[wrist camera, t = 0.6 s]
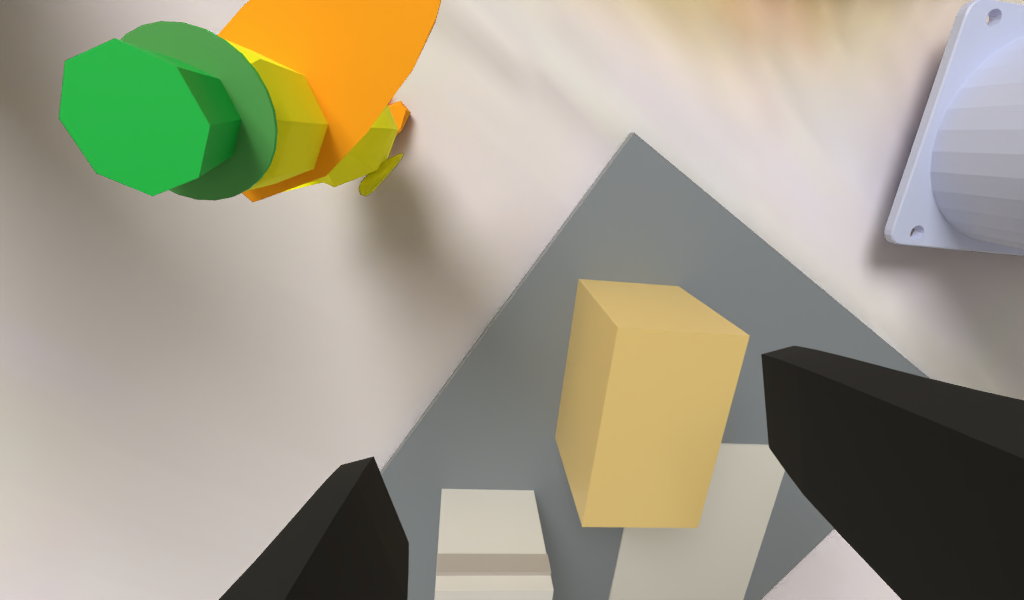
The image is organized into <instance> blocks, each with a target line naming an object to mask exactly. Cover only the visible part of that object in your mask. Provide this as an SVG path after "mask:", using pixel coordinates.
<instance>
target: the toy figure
mask: <svg viewBox="0 0 1024 600" xmlns="http://www.w3.org/2000/svg"><path fill="white" fill-rule="evenodd" d="M440 3H441V0H250V1H249V2H247V3H246V4H245V5H244V6H243V7H242V8H241V9H240V10H239V11H238V13H237V14H236V15H235V16H234V17H233V18H232V19H231V21H230V22H229V23H228V24H227V25H226V26H225V27H224V29H223V30H222V31H221V32H220V33H219V34H218V35H216V34H214V33H212V32H210V31H208V30H206V29H204V28H200V27H197V26H193V25H190V24H187V23H182V22H165V21H160V22H155V23H151V24H146V25H142V26H140V27H138V28H136V29H134V30H133V31H131V32H129V33H127V34H126V35H125V36H124V37H123V38H122V39H121V40H118V39H115V38H114V39H112V40H110V41H108V42H106V43H103V44H101V45H99V46H97V47H95V48H92V49H90V50H88V51H86V52H84V53H81V54H79V55H77V56H75V57H73V58H70V59H68V60H66V61H65V65H64V75H63V84H62V94H61V103H60V113H59V119H60V121H61V122H62V124H63V125H64V127H65V128H66V129H67V131H68V132H69V134H70V135H71V137H72V138H73V140H74V141H75V143H76V144H77V146H78V147H79V149H80V150H81V151H82V153H83V154H84V156H85V157H86V159H87V160H88V162H89V163H90V165H91V166H92V168H93V169H94V171H95V172H96V173H97V174H100V175H102V176H105V177H107V178H109V179H112V180H114V181H117V182H119V183H122V184H124V185H127V186H129V187H131V188H134V189H136V190H139V191H141V192H144V193H146V194H148V195H151V196H155V195H157V194H159V193H162V192H164V191H167V190H170V191H172V192H174V193H176V194H178V195H182V196H186V197H190V198H193V199H197V200H219V199H225V198H230V197H234V196H236V195H238V194H240V193H243V194H244V195H245V196H246V197H247V198H248V199H250V200H251V201H252V202H255V201H258V200H261V199H264V198H267V197H270V196H272V195H275V194H278V193H281V192H285V191H289V190H293V189H297V188H301V187H306V186H310V185H314V184H318V183H322V182H324V183H326V184H329V185H331V186H333V187H336V186H339V185H341V184H344V183H346V182H349V181H351V180H354V179H356V178H359V177H362V176H364V175H367V174H368V175H367V176H366V177H365V178H364V179H363V180H362V182H361V184H360V186H359V192H360V194H361V195H364V196H367V195H369V194H370V193H372V192H373V191H374V190H375V189H376V188H377V187H378V186H379V185H380V184H381V183H382V181H383V180H384V179H385V178H386V177H387V176H388V175H389V173H390V172H391V171H392V170H393V169H394V168H395V167H396V166H397V164H398V163H399V161H400V160H401V159H402V157H403V154H404V153H402V154H398V155H396V156H394V157H391V158H389V159H388V156H389V154H390V151H391V148H392V146H393V143H394V140H395V137H396V136H397V135H398V134H399V133H400V132H401V131H402V130H403V128H404V126H405V123H406V121H407V119H408V117H409V115H410V111H409V110H408V109H407V108H406V106H405V105H404V104H403V103H402V102H401V101H399V102H396V103H394V104H391V105H389V106H388V103H389V102H390V100H391V99H392V97H393V96H394V95H395V93H396V92H397V90H398V89H399V88H400V86H401V85H402V84H403V82H404V81H405V80H406V78H407V77H408V76H409V74H410V73H411V71H412V70H413V68H414V66H415V64H416V62H417V60H418V58H419V56H420V54H421V52H422V49H423V47H424V45H425V43H426V41H427V39H428V37H429V35H430V33H431V30H432V28H433V26H434V24H435V21H436V18H437V14H438V10H439V7H440Z"/></svg>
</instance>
